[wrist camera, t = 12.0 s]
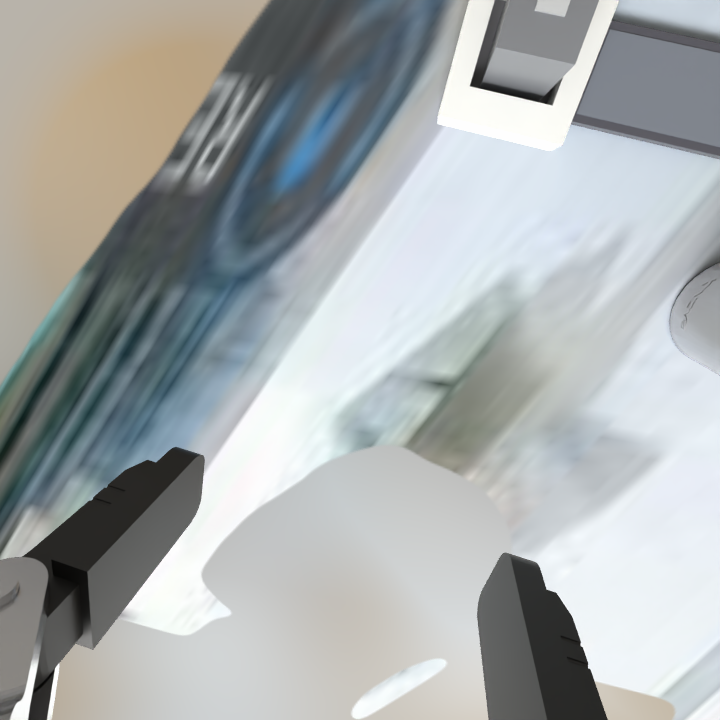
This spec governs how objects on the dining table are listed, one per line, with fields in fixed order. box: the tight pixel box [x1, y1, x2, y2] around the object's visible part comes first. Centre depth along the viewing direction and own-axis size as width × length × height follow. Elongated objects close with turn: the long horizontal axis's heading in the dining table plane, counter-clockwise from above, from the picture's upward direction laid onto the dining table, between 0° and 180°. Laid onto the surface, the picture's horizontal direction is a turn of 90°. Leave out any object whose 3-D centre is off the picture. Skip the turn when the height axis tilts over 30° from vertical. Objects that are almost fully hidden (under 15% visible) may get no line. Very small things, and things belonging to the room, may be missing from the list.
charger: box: [479, 0, 599, 102], centre depth 24 cm, size 4×4×8 cm
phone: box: [571, 20, 720, 159], centre depth 27 cm, size 12×6×1 cm, turn 77°
